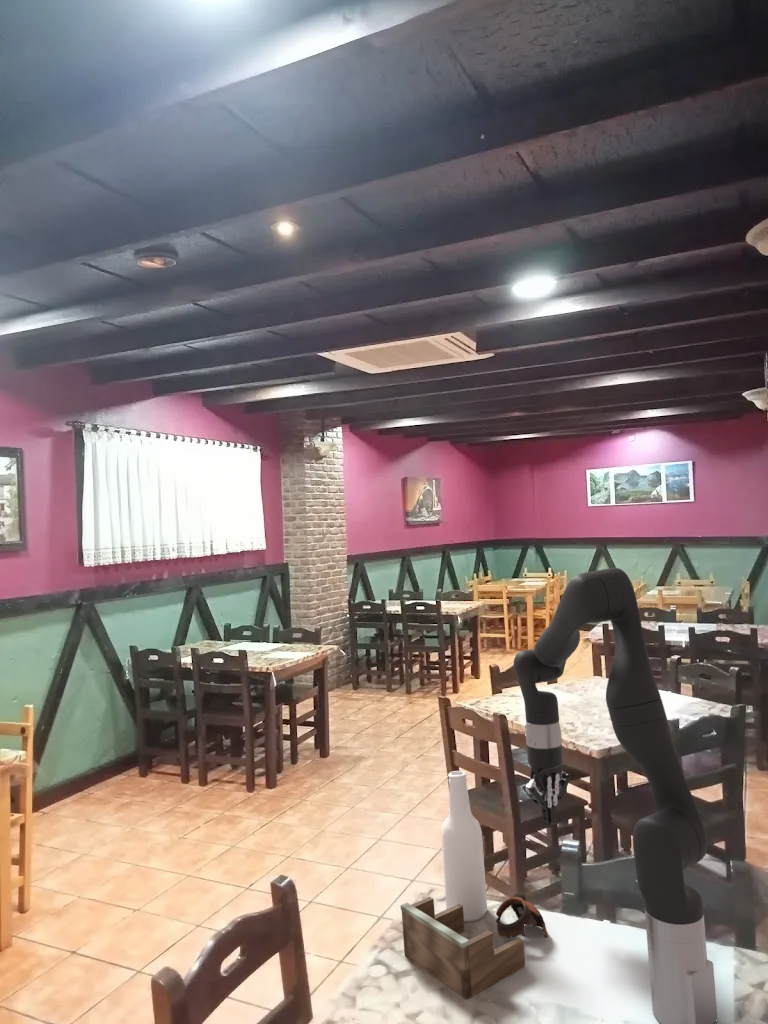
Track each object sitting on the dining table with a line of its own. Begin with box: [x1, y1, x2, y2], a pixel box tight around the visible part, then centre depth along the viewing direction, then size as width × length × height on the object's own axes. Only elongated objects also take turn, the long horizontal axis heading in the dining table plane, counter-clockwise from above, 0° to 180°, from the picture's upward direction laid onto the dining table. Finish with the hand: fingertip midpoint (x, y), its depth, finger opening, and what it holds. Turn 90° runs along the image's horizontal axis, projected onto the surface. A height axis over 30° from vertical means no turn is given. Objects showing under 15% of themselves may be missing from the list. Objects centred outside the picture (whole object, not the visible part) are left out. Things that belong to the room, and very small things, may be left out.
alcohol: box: [440, 770, 488, 923], centre depth 161 cm, size 9×9×30 cm
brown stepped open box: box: [399, 896, 526, 1000], centre depth 142 cm, size 18×15×10 cm
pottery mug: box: [495, 891, 549, 939], centre depth 151 cm, size 12×10×8 cm
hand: (550, 823), depth 158 cm, fingers closed
